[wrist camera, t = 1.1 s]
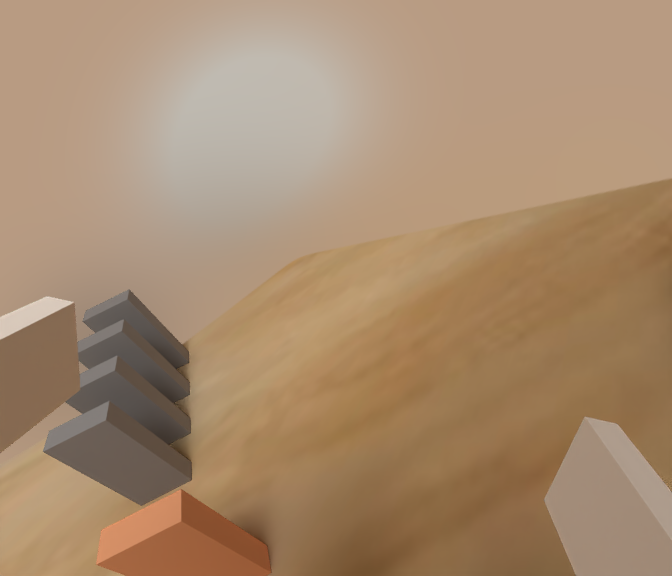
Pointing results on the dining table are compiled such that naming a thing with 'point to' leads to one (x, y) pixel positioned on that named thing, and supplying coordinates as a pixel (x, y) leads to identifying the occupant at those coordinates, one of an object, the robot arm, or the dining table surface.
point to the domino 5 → (180, 542)
